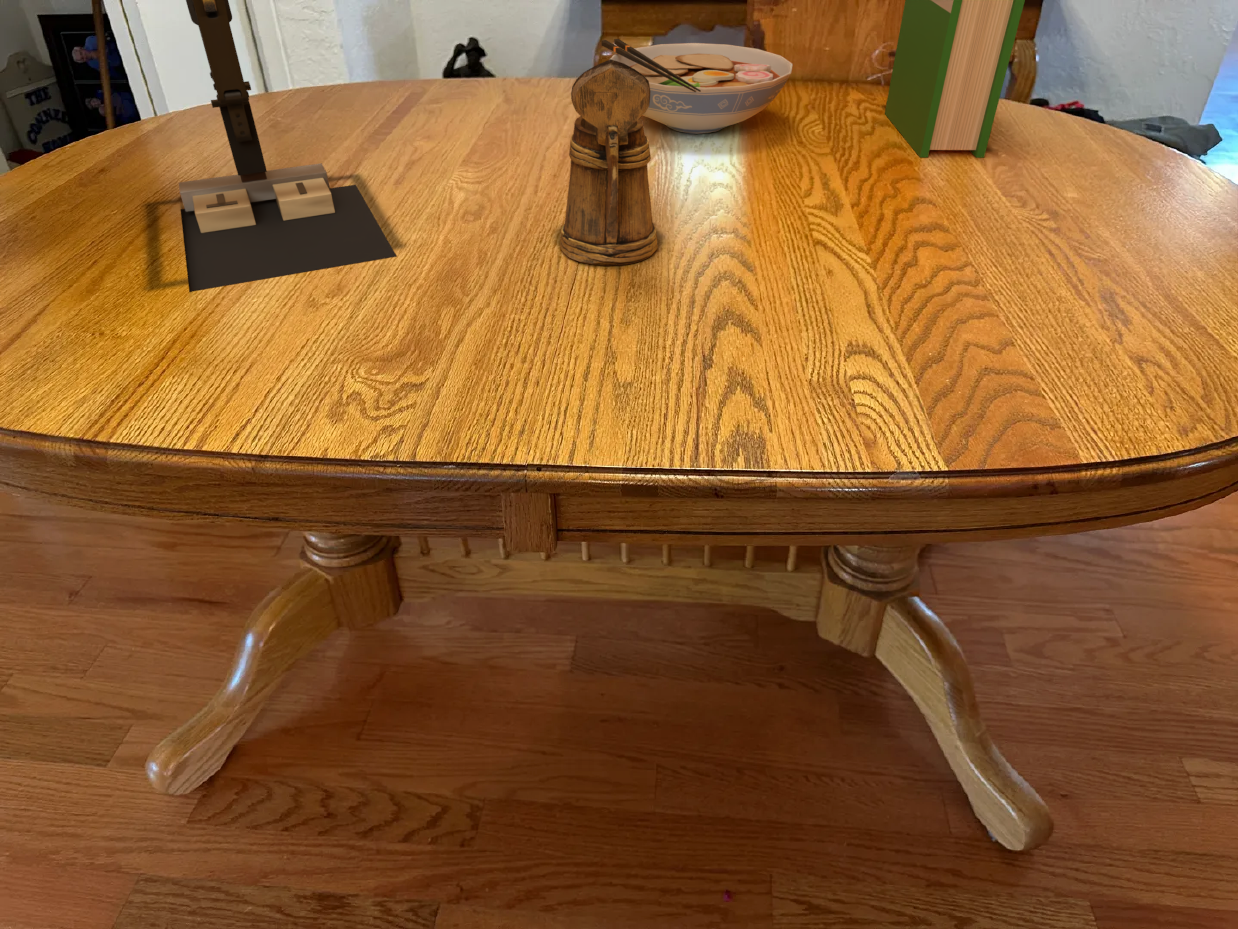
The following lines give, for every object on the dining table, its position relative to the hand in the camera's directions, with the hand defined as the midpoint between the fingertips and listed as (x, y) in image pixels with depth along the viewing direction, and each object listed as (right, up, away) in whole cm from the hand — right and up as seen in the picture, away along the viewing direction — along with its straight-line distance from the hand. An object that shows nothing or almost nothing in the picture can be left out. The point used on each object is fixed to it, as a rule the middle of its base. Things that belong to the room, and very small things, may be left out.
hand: (250, 166), depth 86 cm
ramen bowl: (+47, +13, +23) cm, 54 cm away
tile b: (+5, -4, +1) cm, 7 cm away
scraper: (0, -2, +2) cm, 3 cm away
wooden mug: (+36, -11, -8) cm, 39 cm away
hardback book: (+76, +11, +20) cm, 79 cm away
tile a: (-1, -6, -2) cm, 6 cm away
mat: (+4, -8, -4) cm, 10 cm away
